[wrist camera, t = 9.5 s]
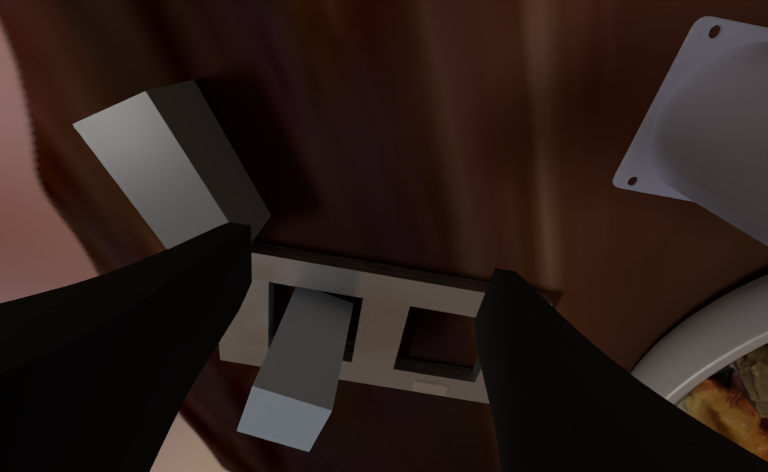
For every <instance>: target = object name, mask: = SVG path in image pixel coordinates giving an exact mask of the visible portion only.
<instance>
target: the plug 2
mask: <svg viewBox="0 0 768 472" xmlns="http://www.w3.org/2000/svg"><path fill="white" fill-rule="evenodd" d="M353 304H354V303H351V302H348V301H345V300H342V299H340V298H337V297H334V296H331V295H328V294H326V293H323V292H320V291H317V290H313V289H307V288H301V287H296V288H295V291H294V293H293V295H292V297H291V300H290V302H289V304H288V307H287V309H286V311H285V313H284V316H283V318H282V320H281V323H280V325H279V327H278V329H277V332H276V334H275V336H274V339H273V341H272V343H271V345H270V348H269V350H268V352H267V355H266V357H265V359H264V361H263V364H262V366H261V368H260V371H259V373H258V375H257V377H256V380H255V382H254V384H253V387H252V389H251V392H250V395H249V398H248V401H247V404H246V406H245V409H244V412H243V415H242V418H241V420H240V423H239V426H238V429H237V431H239V432H242V433H245V434H249V435H252V436H256V437H259V438H263V439H266V440H270V441H273V442H277V443H280V444H283V445H287V446H290V447H294V448H297V449H301V450H304V451H308V452H309V451H310V449H311V447H312V445H313V444H314V442H315V440H316V438H317V437H318V435H319V433H320V431H321V429H322V428H323V426H324V424H325V422H326V421H327V419H328V417H329V415H330V414H331V412H332V409H333V404H334V399H335V394H336V389H337V384H338V379H339V374H340V369H341V364H342V359H343V354H344V349H345V344H346V339H347V334H348V329H349V324H350V319H351V314H352V309H353Z"/></svg>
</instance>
